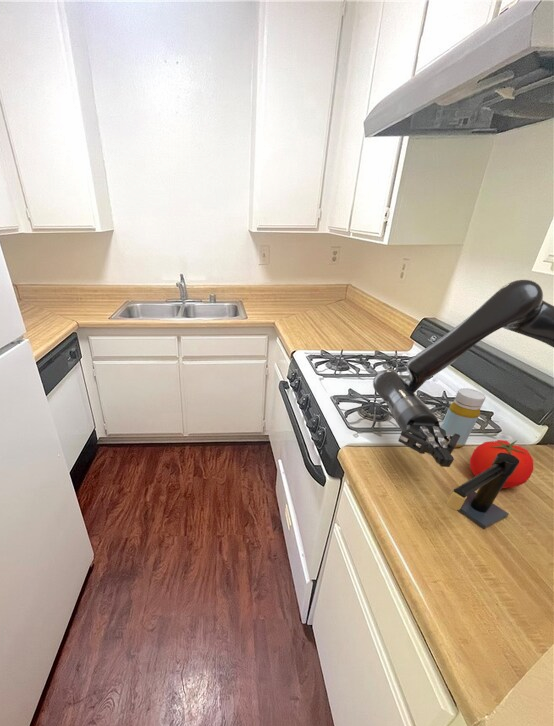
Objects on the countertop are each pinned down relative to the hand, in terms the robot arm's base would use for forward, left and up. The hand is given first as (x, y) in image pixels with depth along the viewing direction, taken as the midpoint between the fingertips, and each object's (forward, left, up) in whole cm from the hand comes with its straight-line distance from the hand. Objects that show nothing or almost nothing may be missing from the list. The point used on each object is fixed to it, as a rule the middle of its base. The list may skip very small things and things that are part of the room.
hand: (447, 463), depth 68 cm
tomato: (-23, 0, -13) cm, 26 cm away
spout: (-3, +6, -3) cm, 7 cm away
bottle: (-29, -15, -13) cm, 35 cm away
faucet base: (-10, +5, -13) cm, 17 cm away
